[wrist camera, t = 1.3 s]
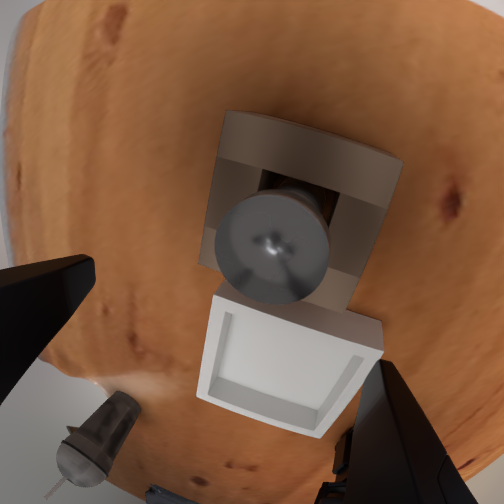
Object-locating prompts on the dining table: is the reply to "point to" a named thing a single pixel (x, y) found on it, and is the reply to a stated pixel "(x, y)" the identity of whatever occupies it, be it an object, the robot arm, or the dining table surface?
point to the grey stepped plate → (164, 497)
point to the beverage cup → (96, 442)
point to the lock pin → (275, 243)
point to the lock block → (313, 171)
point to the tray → (285, 360)
